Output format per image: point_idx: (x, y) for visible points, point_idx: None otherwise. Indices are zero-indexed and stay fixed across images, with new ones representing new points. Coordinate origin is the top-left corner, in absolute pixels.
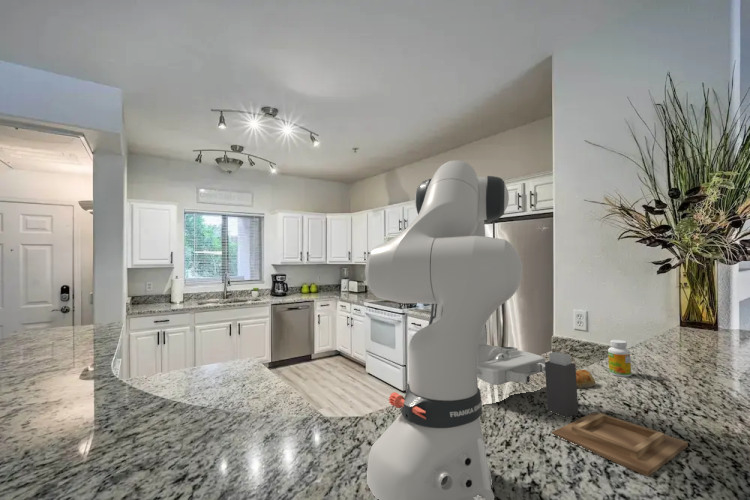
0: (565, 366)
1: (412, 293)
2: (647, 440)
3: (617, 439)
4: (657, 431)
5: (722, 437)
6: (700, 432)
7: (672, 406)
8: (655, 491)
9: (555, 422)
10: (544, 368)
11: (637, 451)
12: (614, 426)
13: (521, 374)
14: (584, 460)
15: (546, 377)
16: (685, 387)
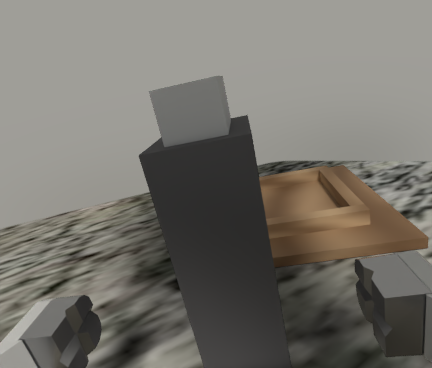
0: (236, 118)
1: None
2: (274, 176)
3: (294, 200)
4: None
5: (146, 198)
6: (145, 207)
7: (31, 254)
8: (364, 162)
9: (348, 291)
10: (61, 330)
11: (323, 166)
12: None
13: (427, 277)
14: (414, 193)
15: (266, 221)
16: None
